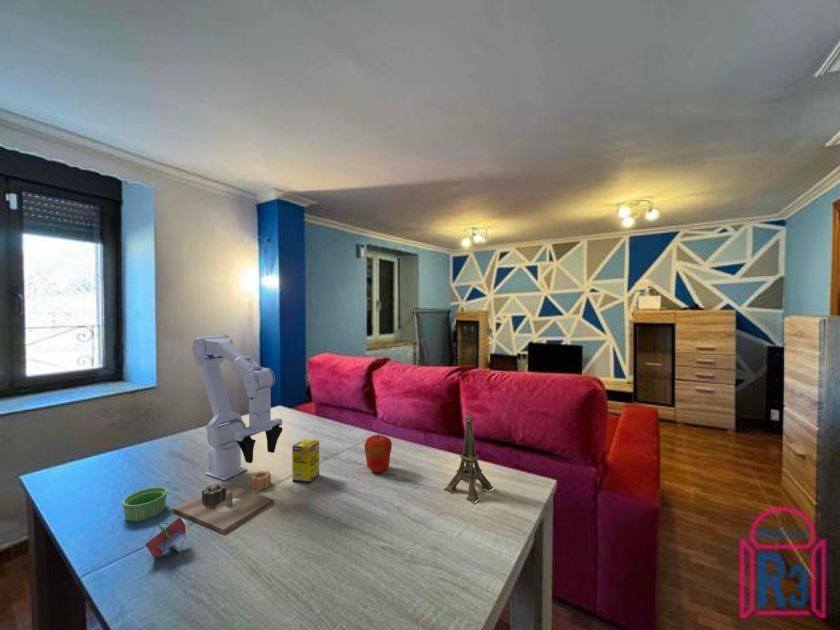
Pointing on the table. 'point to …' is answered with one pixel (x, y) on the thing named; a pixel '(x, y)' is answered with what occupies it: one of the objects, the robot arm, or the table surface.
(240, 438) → the robot arm
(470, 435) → the eiffel tower
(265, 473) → the gear
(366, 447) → the apple
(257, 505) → the gear board
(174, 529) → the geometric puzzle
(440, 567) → the table surface
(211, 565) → the table surface
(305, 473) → the supplement box
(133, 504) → the ramekin
